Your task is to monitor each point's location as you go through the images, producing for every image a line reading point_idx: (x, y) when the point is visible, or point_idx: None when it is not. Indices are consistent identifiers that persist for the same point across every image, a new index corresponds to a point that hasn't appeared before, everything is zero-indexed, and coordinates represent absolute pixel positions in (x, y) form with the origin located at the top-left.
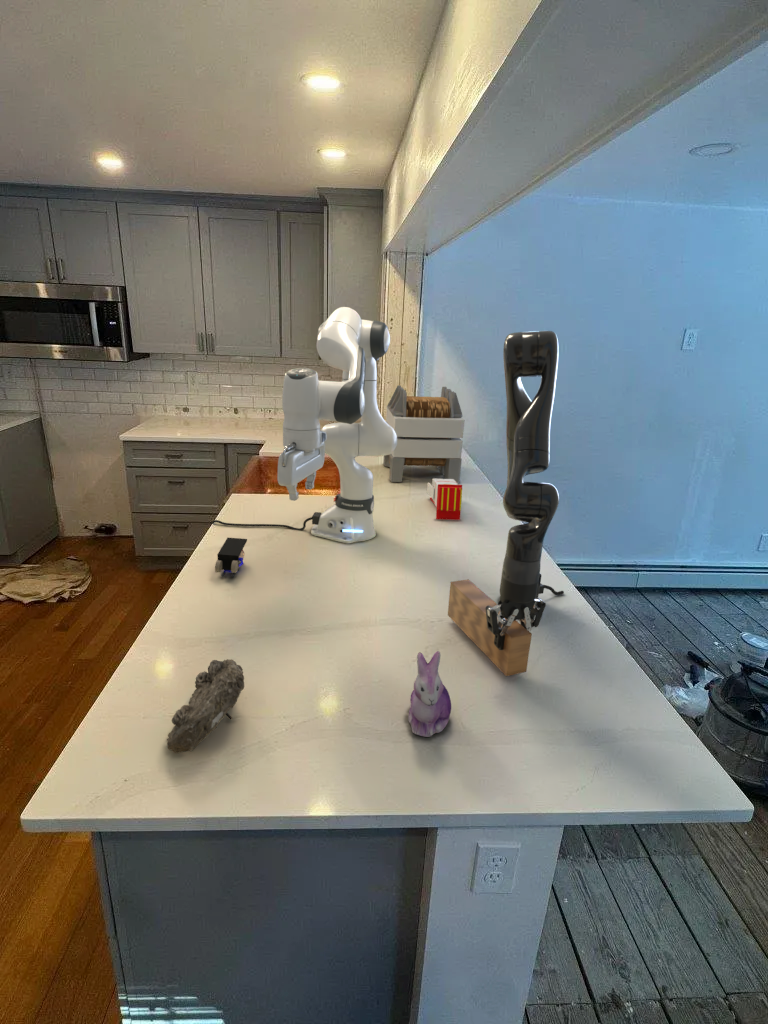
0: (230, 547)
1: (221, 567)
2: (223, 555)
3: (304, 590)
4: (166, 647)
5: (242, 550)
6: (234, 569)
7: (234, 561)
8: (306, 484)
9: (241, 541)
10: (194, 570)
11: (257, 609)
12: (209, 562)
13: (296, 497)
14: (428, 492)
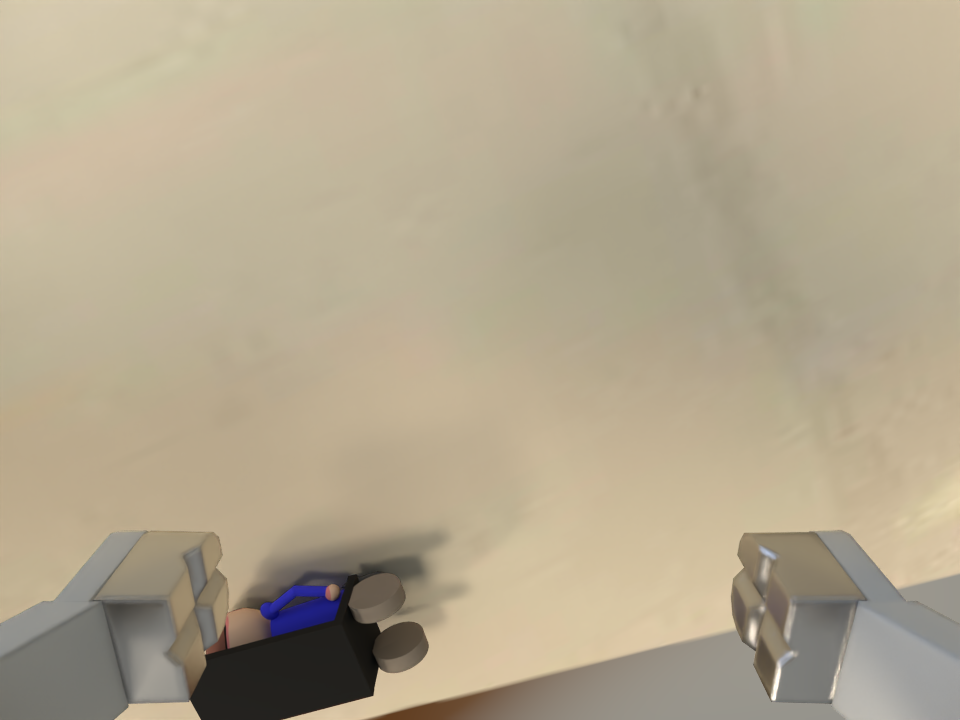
0: (289, 684)
1: (391, 635)
2: (364, 672)
3: (357, 265)
4: (899, 522)
5: (224, 639)
6: (401, 586)
7: (374, 614)
8: (200, 655)
9: (210, 676)
10: (385, 703)
11: (584, 375)
12: None
13: (855, 552)
14: None
